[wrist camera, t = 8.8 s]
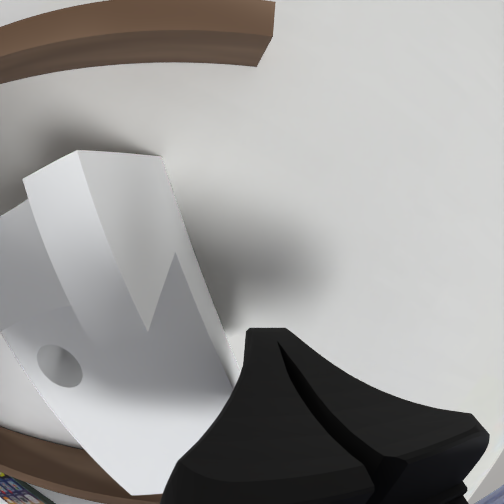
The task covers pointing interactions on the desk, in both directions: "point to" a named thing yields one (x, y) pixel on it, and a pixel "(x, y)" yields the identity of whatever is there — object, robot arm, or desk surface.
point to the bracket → (114, 313)
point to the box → (110, 53)
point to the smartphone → (20, 492)
